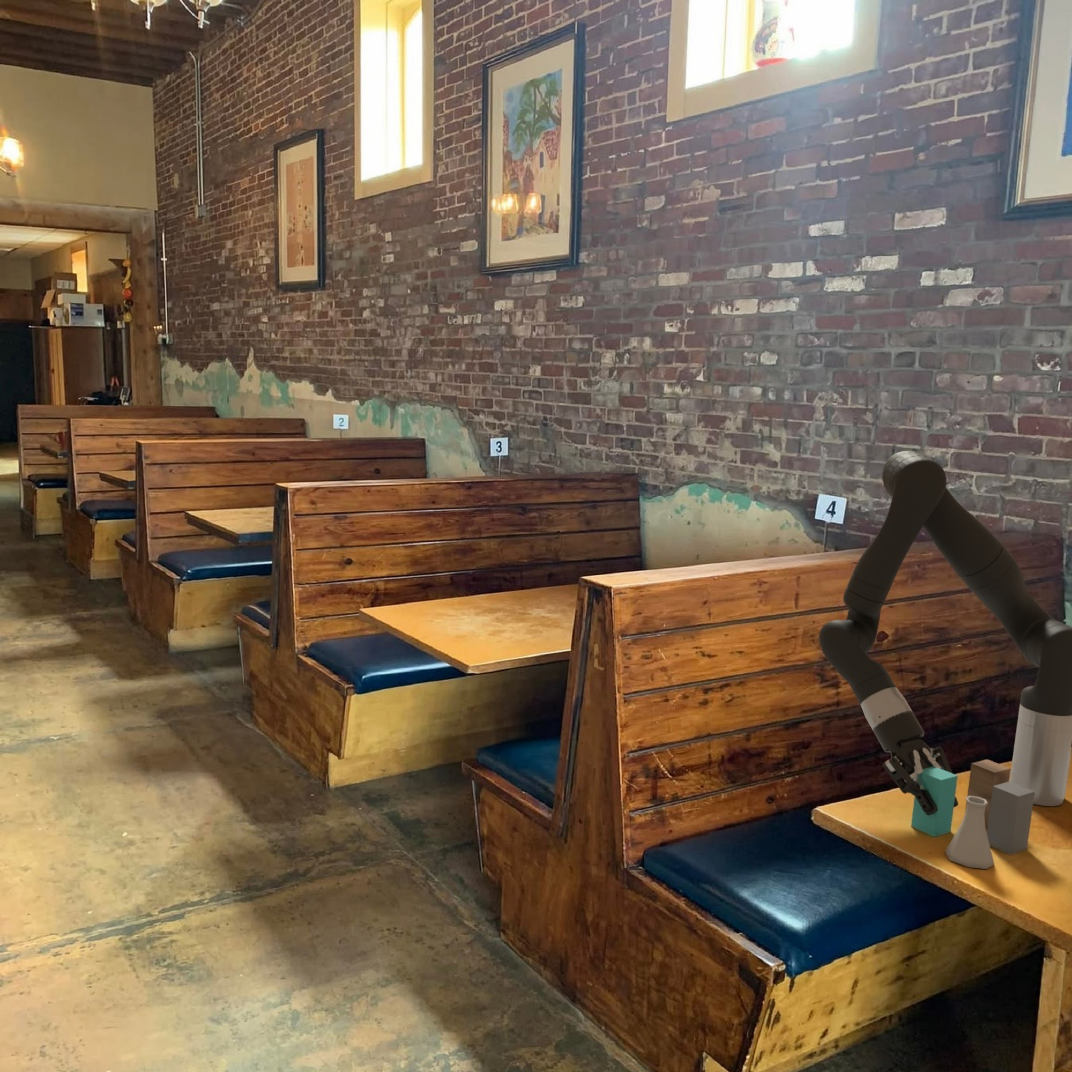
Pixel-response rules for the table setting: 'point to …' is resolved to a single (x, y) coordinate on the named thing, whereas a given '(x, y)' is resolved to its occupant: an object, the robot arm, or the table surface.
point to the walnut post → (986, 781)
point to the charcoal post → (1010, 817)
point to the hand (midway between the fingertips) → (943, 809)
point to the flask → (972, 837)
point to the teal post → (936, 802)
